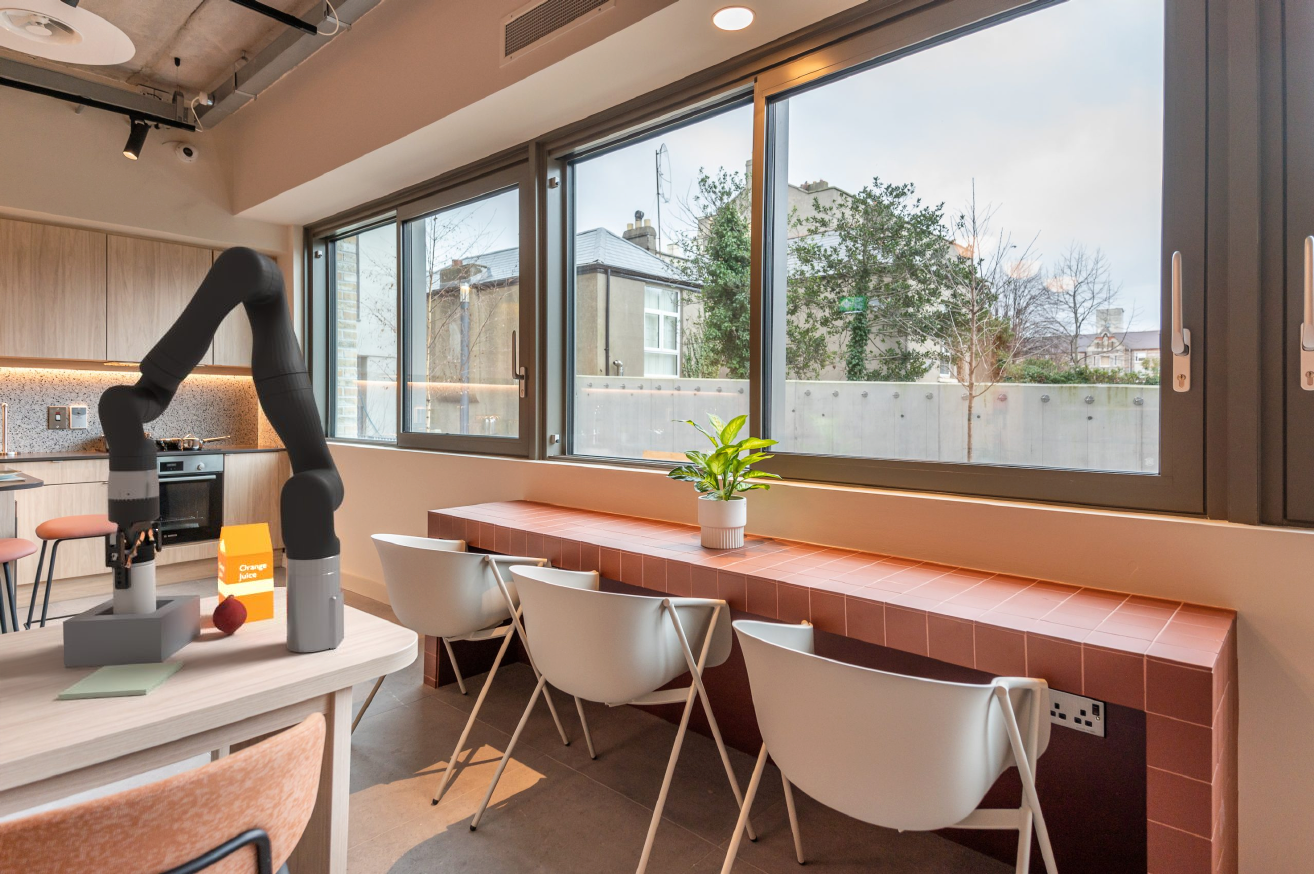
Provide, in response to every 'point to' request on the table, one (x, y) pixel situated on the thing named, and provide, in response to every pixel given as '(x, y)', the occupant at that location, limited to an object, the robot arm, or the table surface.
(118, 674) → the mat
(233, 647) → the table surface
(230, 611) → the onion
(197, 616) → the holder
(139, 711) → the table surface
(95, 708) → the table surface
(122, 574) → the robot arm
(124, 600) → the travel mug
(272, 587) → the orange juice
